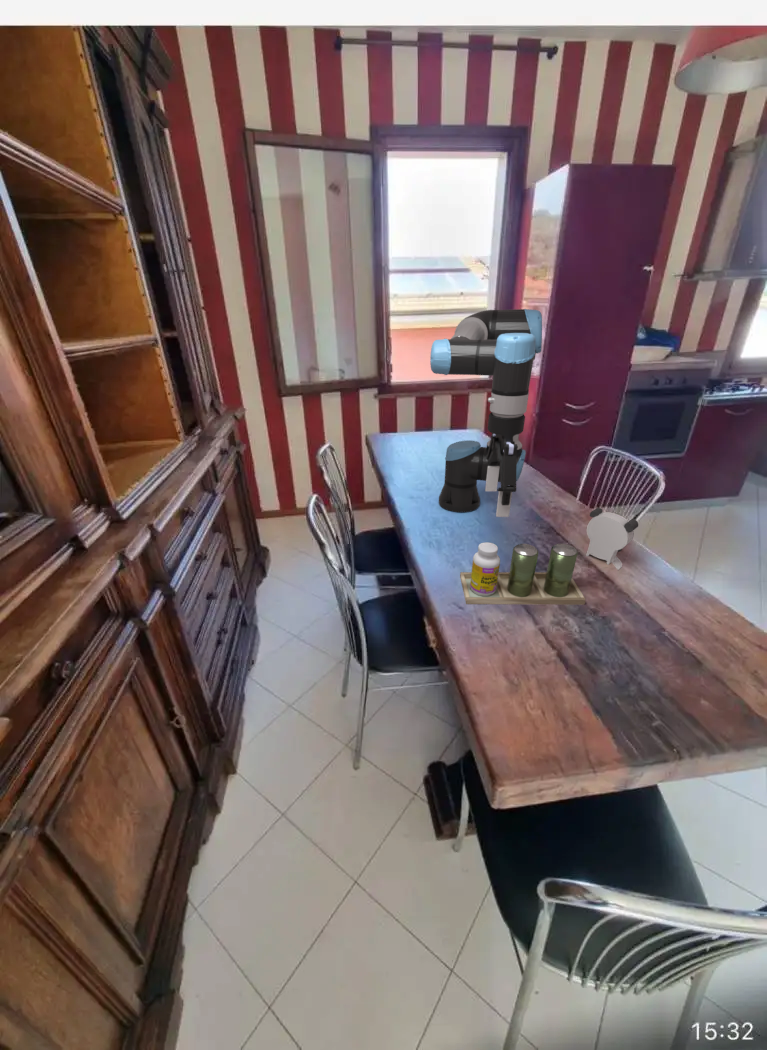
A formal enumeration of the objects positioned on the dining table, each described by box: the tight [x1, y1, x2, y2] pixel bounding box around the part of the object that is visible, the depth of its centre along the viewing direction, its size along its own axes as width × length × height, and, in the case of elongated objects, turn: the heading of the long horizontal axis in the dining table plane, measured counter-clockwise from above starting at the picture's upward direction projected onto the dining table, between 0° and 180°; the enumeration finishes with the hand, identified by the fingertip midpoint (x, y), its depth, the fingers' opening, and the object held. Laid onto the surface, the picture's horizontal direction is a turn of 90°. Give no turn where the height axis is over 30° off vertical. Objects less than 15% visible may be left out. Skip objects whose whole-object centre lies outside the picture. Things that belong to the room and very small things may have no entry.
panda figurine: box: [585, 507, 639, 571], centre depth 118 cm, size 12×11×15 cm
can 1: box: [507, 543, 540, 597], centre depth 105 cm, size 6×6×12 cm
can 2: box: [544, 543, 579, 597], centre depth 105 cm, size 6×6×12 cm
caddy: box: [459, 571, 587, 606], centre depth 108 cm, size 12×29×2 cm, turn 88°
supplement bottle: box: [470, 542, 501, 596], centre depth 106 cm, size 7×7×13 cm
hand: (496, 502), depth 99 cm, fingers open, 13 cm apart
